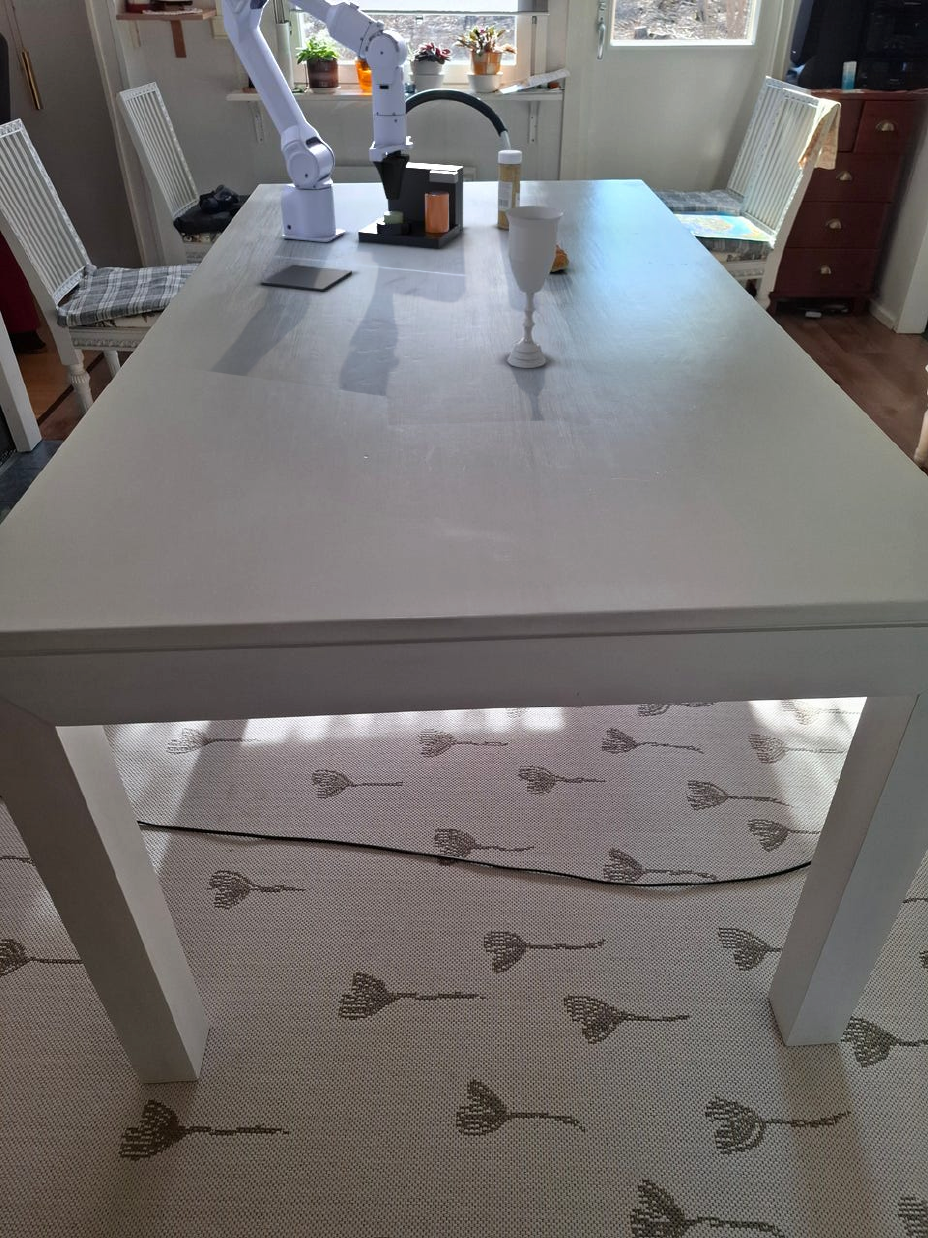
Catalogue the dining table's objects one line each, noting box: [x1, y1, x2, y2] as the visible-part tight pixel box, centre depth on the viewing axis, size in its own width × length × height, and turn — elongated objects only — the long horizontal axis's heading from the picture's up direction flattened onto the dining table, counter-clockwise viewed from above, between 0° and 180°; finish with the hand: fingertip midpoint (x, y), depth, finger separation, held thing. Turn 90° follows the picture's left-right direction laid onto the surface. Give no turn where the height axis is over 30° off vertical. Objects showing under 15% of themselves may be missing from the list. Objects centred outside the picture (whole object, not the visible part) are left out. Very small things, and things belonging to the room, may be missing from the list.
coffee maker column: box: [387, 162, 464, 231], centre depth 168 cm, size 14×6×11 cm, turn 71°
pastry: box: [550, 243, 570, 273], centre depth 149 cm, size 9×7×4 cm
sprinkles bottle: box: [496, 149, 523, 230], centre depth 169 cm, size 5×5×13 cm
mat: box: [260, 264, 353, 293], centre depth 143 cm, size 11×11×1 cm
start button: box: [383, 211, 403, 224], centre depth 161 cm, size 4×4×2 cm
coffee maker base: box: [357, 217, 461, 250], centre depth 164 cm, size 16×12×4 cm
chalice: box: [506, 205, 563, 369], centre depth 108 cm, size 7×7×18 cm
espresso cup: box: [425, 191, 449, 233], centre depth 161 cm, size 4×4×6 cm
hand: (392, 198), depth 159 cm, fingers closed
